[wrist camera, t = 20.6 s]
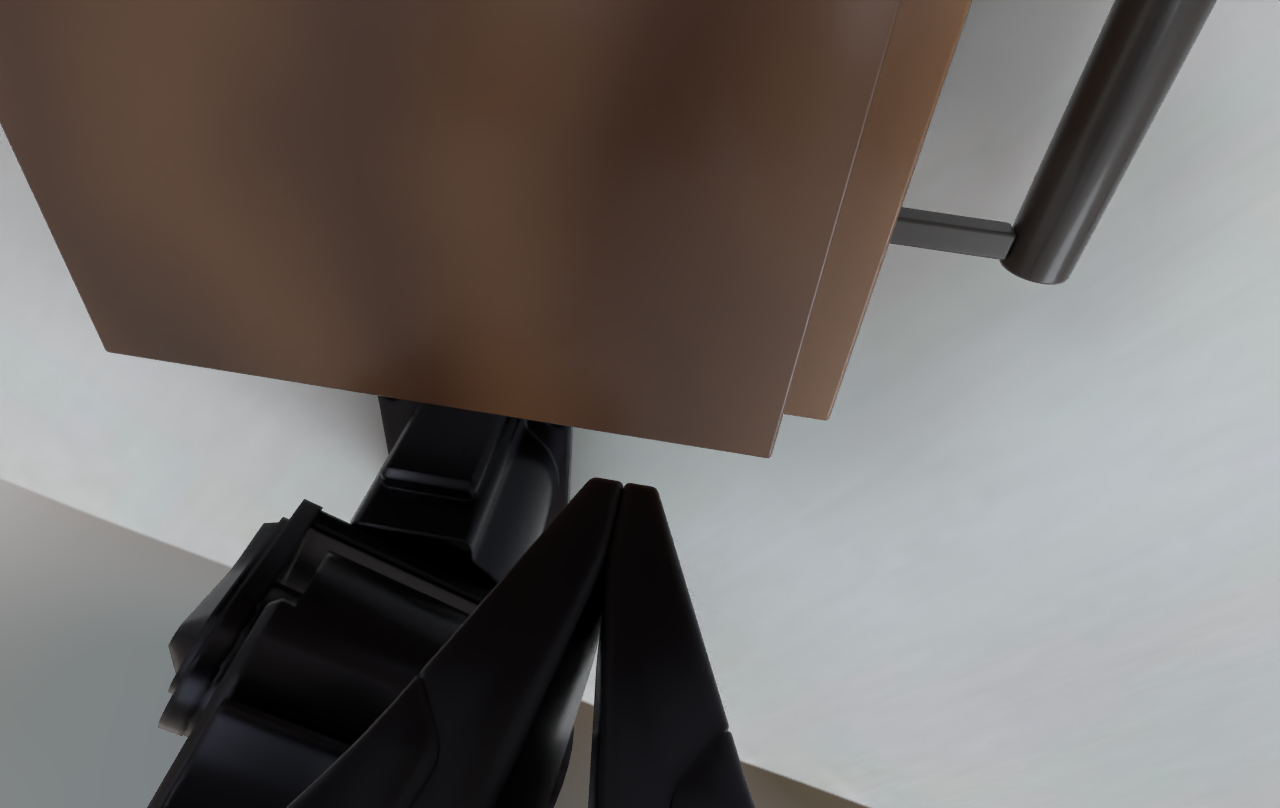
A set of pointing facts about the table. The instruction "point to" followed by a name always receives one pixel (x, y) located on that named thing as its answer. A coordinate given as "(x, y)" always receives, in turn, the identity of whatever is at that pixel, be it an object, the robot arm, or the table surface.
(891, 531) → the table surface
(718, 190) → the cabinet
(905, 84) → the drawer
